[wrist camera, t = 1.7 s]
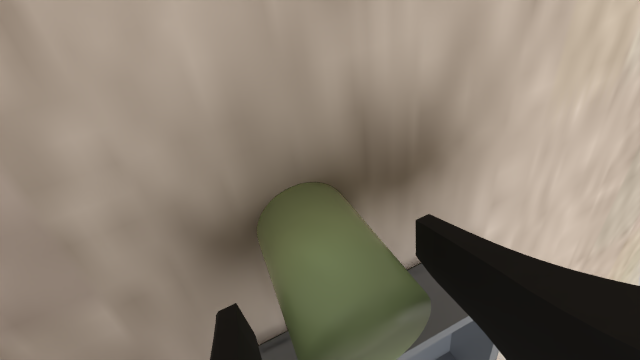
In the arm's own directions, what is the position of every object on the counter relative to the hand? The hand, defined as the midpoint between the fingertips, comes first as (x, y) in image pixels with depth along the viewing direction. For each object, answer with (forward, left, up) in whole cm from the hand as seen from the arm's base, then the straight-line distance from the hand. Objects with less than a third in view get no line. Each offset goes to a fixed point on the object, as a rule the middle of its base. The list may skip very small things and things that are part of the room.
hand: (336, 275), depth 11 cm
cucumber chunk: (0, 0, -3) cm, 3 cm away
